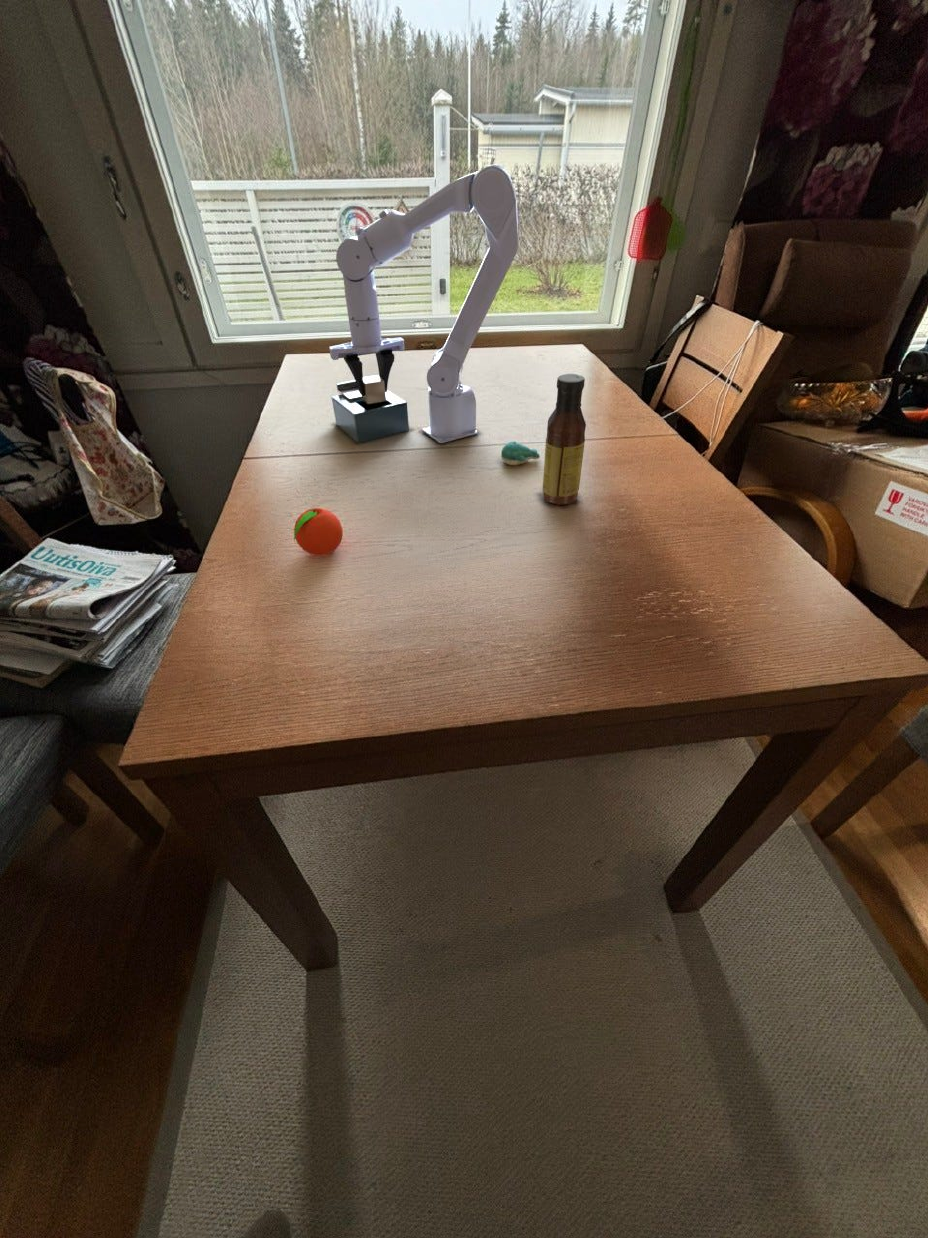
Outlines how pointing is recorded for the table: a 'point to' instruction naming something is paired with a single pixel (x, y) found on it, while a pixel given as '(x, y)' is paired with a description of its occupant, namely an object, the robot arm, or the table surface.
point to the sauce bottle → (565, 442)
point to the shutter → (349, 390)
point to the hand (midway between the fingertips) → (373, 392)
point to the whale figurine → (517, 453)
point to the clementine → (318, 531)
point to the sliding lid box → (371, 417)
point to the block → (374, 389)
